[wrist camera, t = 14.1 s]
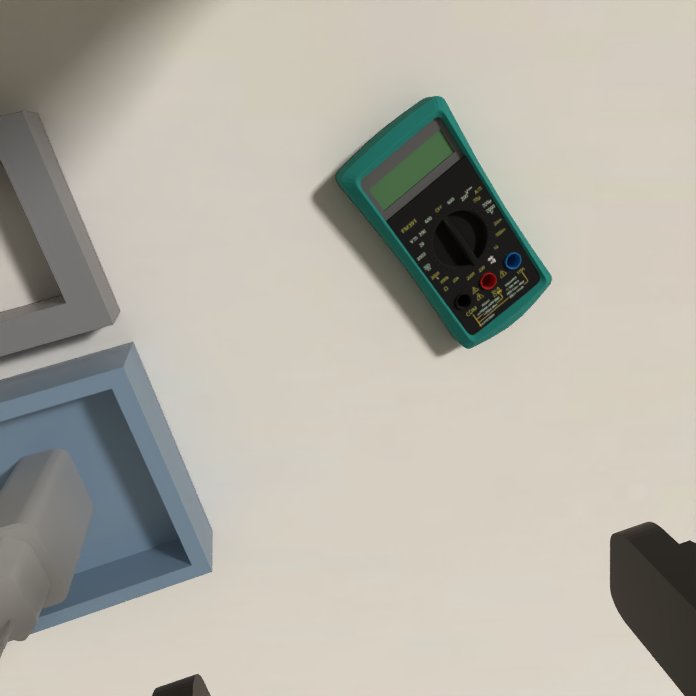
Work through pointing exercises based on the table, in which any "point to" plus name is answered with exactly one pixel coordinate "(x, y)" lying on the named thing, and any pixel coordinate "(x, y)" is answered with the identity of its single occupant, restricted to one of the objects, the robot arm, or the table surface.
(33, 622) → the power adapter
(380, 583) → the table surface
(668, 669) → the robot arm
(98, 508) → the parts tray
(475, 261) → the digital multimeter
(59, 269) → the adapter holder
